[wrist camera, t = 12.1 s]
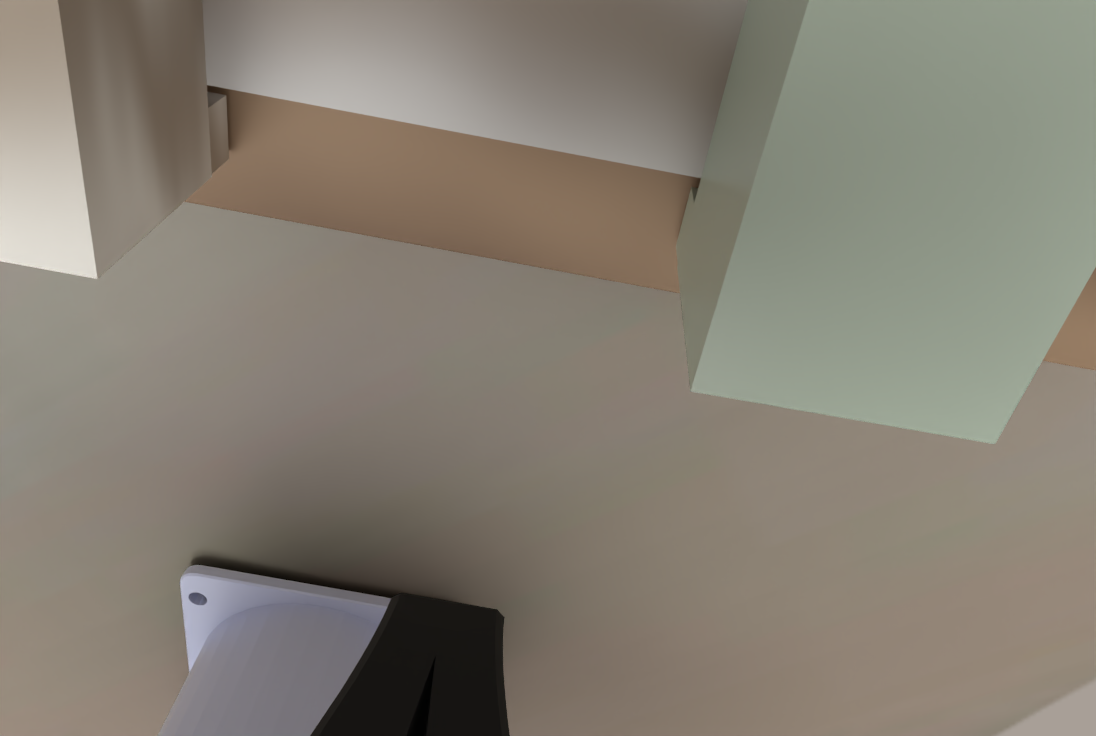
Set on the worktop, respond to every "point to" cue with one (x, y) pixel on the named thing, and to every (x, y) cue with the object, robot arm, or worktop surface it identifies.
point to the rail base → (375, 127)
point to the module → (893, 208)
